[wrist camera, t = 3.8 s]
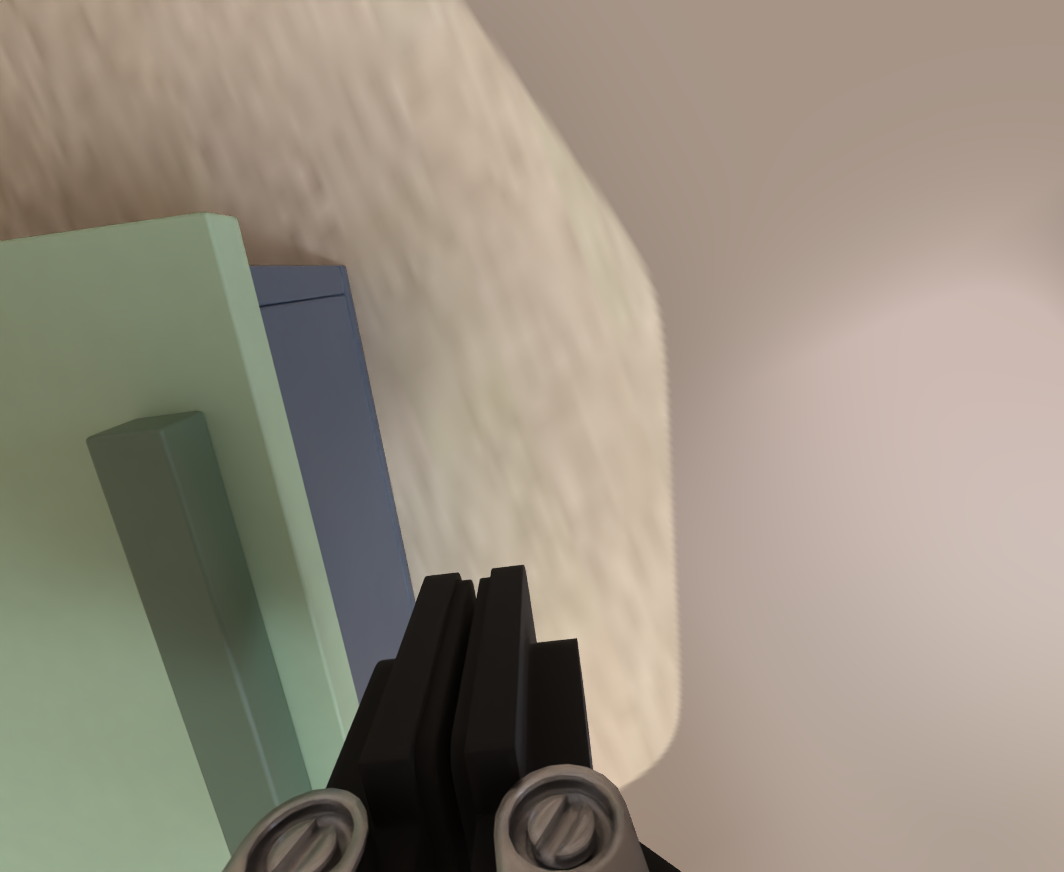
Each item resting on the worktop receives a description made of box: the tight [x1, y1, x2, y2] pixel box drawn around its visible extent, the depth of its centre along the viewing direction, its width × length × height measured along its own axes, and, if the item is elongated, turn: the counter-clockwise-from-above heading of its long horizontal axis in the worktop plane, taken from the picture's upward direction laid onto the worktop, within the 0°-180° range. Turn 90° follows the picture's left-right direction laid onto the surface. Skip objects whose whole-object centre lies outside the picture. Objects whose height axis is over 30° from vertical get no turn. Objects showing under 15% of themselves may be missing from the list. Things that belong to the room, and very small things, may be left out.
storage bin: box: [249, 265, 415, 705], centre depth 16 cm, size 14×14×8 cm
